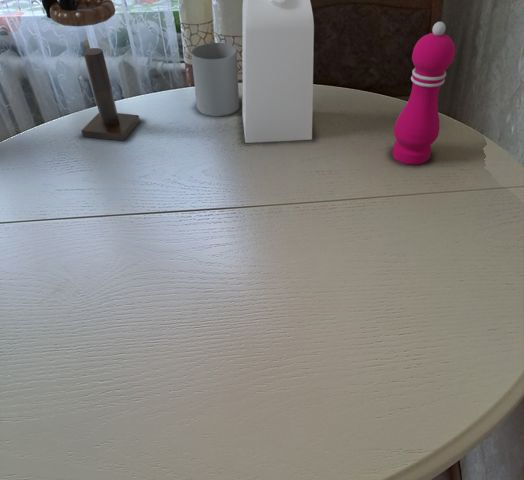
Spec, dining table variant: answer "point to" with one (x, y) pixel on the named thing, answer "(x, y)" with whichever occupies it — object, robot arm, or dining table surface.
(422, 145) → the pepper mill
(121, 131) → the brown post
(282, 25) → the milk
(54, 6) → the ring
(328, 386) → the dining table surface
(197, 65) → the cup
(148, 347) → the dining table surface
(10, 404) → the dining table surface
